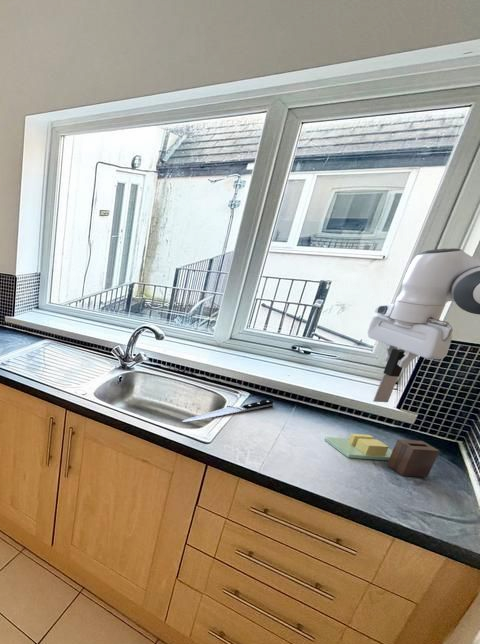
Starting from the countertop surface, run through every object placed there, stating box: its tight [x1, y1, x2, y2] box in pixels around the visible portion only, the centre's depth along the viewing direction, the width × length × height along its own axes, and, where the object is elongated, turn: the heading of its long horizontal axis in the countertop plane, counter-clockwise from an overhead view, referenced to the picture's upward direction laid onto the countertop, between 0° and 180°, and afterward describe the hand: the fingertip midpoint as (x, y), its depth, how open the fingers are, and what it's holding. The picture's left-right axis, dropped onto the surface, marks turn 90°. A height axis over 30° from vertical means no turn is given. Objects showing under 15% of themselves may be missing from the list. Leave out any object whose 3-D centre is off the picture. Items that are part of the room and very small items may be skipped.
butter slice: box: [348, 433, 375, 445], centre depth 122 cm, size 5×2×3 cm, turn 83°
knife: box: [372, 348, 405, 403], centre depth 113 cm, size 4×2×15 cm
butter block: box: [355, 438, 390, 456], centre depth 118 cm, size 5×4×3 cm
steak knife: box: [181, 399, 274, 423], centre depth 143 cm, size 5×41×2 cm, turn 108°
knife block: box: [386, 439, 440, 478], centre depth 110 cm, size 6×5×8 cm
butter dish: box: [323, 436, 393, 461], centre depth 121 cm, size 14×10×1 cm
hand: (395, 364), depth 112 cm, fingers closed on knife, 2 cm apart
